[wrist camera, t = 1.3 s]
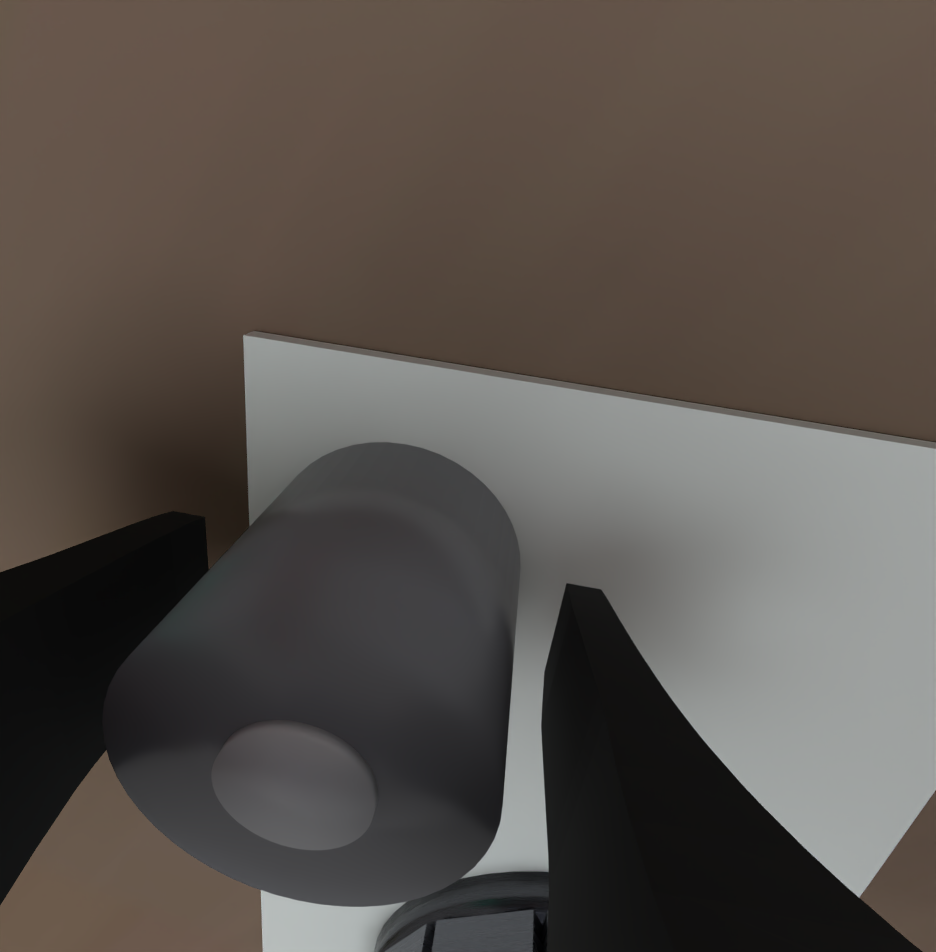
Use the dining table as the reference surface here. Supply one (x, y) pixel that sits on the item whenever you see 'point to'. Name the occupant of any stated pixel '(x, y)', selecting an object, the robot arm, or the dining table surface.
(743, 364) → the dining table surface
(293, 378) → the mat
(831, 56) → the dining table surface
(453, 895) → the toothed grey gear
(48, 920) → the dining table surface
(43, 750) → the robot arm
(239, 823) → the cap
